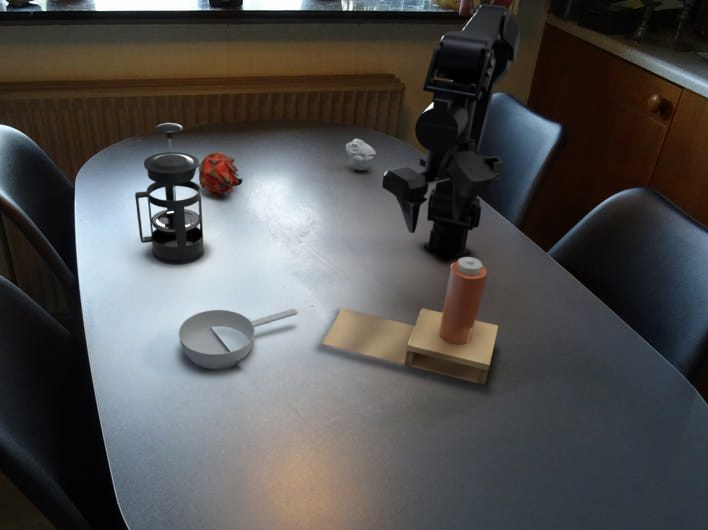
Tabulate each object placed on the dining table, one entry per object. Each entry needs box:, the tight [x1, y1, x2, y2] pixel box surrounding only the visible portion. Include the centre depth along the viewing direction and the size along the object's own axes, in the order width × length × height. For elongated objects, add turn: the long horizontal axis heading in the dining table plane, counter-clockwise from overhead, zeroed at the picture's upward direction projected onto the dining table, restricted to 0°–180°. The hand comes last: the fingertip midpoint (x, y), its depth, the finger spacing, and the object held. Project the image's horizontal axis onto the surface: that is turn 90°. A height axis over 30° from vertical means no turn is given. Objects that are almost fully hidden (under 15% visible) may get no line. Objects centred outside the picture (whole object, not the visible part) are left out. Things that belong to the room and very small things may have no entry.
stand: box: [322, 307, 499, 385], centre depth 100 cm, size 24×10×4 cm, turn 71°
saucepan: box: [178, 308, 298, 370], centre depth 99 cm, size 11×18×4 cm, turn 118°
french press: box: [134, 122, 206, 265], centre depth 114 cm, size 12×9×23 cm
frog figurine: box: [345, 138, 377, 171], centre depth 155 cm, size 6×7×7 cm
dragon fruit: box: [197, 151, 244, 198], centre depth 141 cm, size 8×8×12 cm
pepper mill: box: [439, 256, 488, 345], centre depth 94 cm, size 5×5×12 cm
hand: (434, 226), depth 106 cm, fingers open, 9 cm apart
